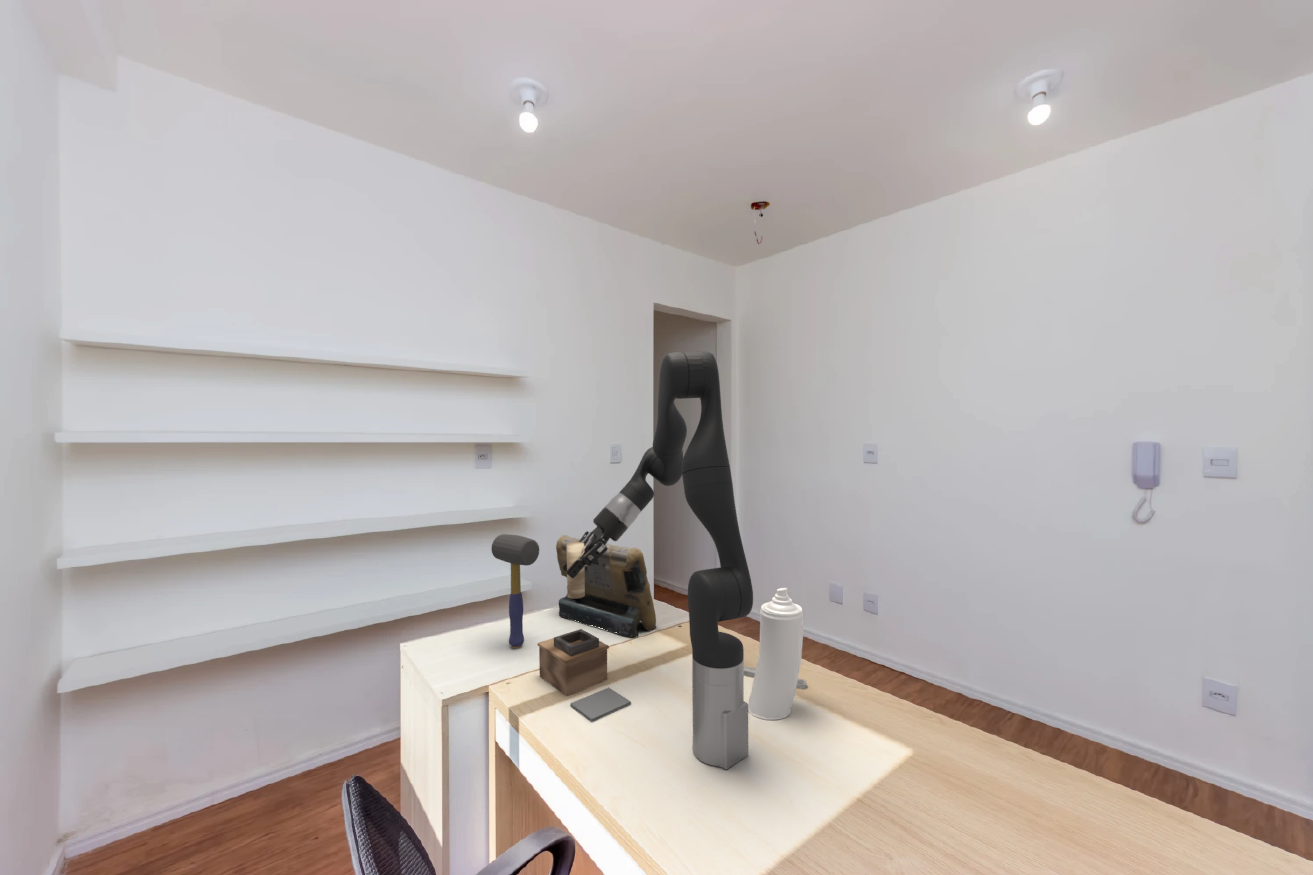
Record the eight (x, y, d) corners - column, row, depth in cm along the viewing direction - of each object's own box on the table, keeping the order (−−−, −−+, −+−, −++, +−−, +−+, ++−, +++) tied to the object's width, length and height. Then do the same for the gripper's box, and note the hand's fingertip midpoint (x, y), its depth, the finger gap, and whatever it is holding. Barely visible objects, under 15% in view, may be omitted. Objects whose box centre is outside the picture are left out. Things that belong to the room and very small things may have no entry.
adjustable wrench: (808, 687, 119) (808, 679, 119) (799, 699, 114) (799, 691, 114) (710, 659, 133) (710, 652, 133) (697, 670, 127) (697, 662, 127)
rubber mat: (631, 704, 111) (631, 701, 111) (591, 722, 105) (591, 719, 105) (608, 689, 117) (608, 687, 117) (570, 705, 111) (570, 703, 111)
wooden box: (609, 679, 122) (608, 637, 122) (566, 697, 114) (565, 651, 114) (579, 661, 131) (579, 622, 131) (537, 676, 124) (537, 634, 124)
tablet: (663, 624, 156) (662, 540, 155) (637, 641, 144) (637, 550, 143) (578, 605, 172) (577, 529, 172) (548, 618, 161) (547, 537, 160)
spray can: (760, 688, 118) (760, 577, 117) (808, 700, 112) (808, 584, 112) (741, 712, 108) (741, 592, 107) (792, 727, 102) (792, 601, 102)
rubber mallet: (490, 645, 141) (488, 535, 140) (512, 636, 147) (511, 530, 146) (520, 657, 134) (519, 541, 133) (543, 647, 140) (541, 535, 139)
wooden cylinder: (588, 595, 121) (587, 544, 121) (573, 599, 118) (572, 546, 118) (578, 591, 124) (578, 541, 124) (564, 595, 121) (563, 543, 121)
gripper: (598, 502, 130) (550, 555, 126) (614, 510, 117) (561, 570, 113) (619, 521, 132) (572, 575, 128) (637, 532, 119) (585, 592, 115)
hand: (567, 572), depth 120 cm, fingers closed on wooden cylinder, 4 cm apart
